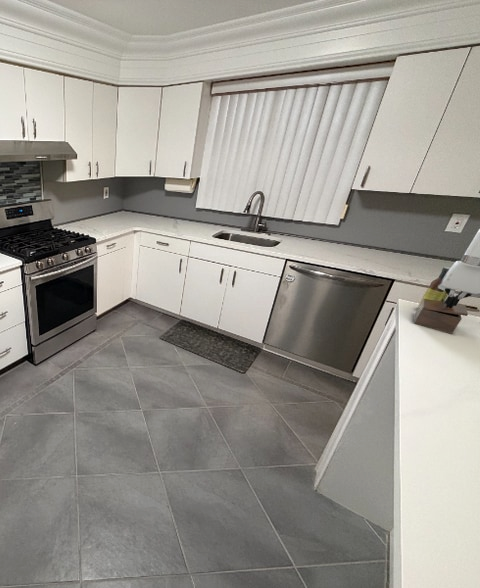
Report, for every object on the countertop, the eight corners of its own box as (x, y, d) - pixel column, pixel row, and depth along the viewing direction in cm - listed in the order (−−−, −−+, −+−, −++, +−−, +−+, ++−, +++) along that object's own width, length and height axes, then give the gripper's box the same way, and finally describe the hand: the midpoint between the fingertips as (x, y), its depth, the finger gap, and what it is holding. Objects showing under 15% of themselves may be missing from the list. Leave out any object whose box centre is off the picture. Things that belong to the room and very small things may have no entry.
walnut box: (450, 324, 123) (459, 309, 120) (451, 334, 116) (461, 318, 113) (414, 314, 129) (422, 300, 126) (414, 323, 122) (422, 308, 120)
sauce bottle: (437, 317, 128) (463, 272, 119) (416, 312, 131) (440, 268, 123) (435, 311, 132) (461, 268, 123) (415, 306, 136) (439, 264, 127)
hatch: (464, 306, 119) (465, 304, 118) (467, 316, 112) (468, 314, 112) (422, 300, 126) (423, 298, 126) (422, 308, 119) (423, 306, 119)
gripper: (507, 264, 108) (476, 310, 116) (446, 253, 117) (421, 296, 125) (511, 269, 103) (478, 317, 111) (447, 258, 112) (421, 302, 120)
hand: (448, 306), depth 118 cm, fingers closed
